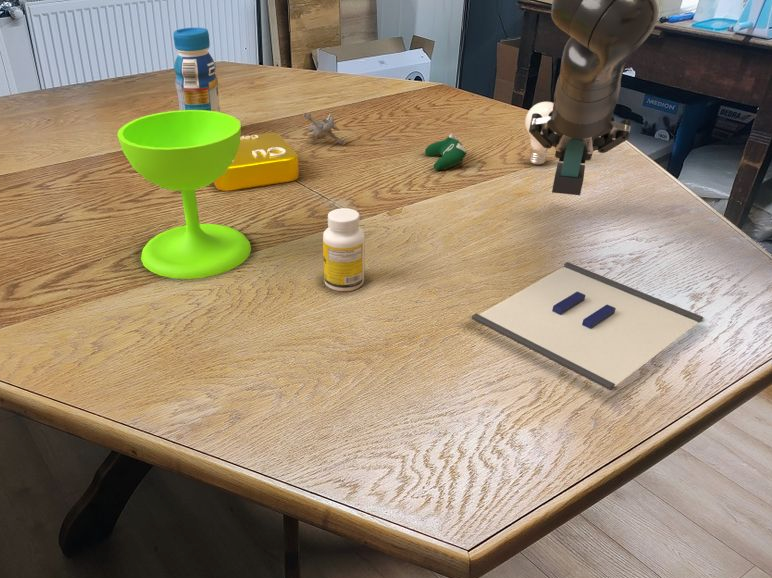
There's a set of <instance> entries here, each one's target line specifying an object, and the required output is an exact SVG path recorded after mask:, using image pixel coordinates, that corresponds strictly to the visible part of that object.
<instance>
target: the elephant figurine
mask: <svg viewBox="0 0 772 578" xmlns="http://www.w3.org/2000/svg"><path fill="white" fill-rule="evenodd" d="M303 117H304V118H305V119H307V121H310V122H311V123H312V124H310V125H309V126H308V129H307V130H308V132H309V133H312V132H313V134H314V138H313V139H312V140H311V141H310V142H311V143H310V144H313V143H314V142H315V141H316V140H317V139H324V138H326V137H327V136H328V137H331V138H332V139H334V140H335V141H336V142H337V143H338V144H340V145H341V146H344V145H345V144H346V143H345V141H344V140H343V139H344V136H342V137H339V136H337V135H335V134H334V133H333V131H332V129H333V130H334V131H338V132H340V128H339V127H338V126H336V125H335V123H334V122H335V120H336V119H337V117H333V116H332V113H329V115H328V116H327V118H325V117H323V116H322V117H321V121H317V120H316V119H314V118H313V117H312V116H311V111H310V112H309V113H307V111H305V112H303Z"/></svg>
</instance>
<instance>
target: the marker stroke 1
mask: <svg viewBox="0 0 772 578" xmlns="http://www.w3.org/2000/svg"><path fill="white" fill-rule="evenodd" d="M585 296H586V295H584V294H582V293H580V292H575V293H574V294H572V295H570V296H569V297H567V298H565V299H564V300H562V301H560V302H559V303H557V304H555V305H554V306H553V310H552V311H553V312H555V313H557V314H559V315H562V314H563V313H565V312H566V311H568V310H570V309H571V308H573V307H574V306H576V305H578V304H579V303H581V302H582V301H584V300H585Z"/></svg>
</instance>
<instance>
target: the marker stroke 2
mask: <svg viewBox="0 0 772 578" xmlns="http://www.w3.org/2000/svg"><path fill="white" fill-rule="evenodd" d="M615 309H616V308H614V307H612V306H610V305H605V306H603V307H602V308H600V309H599V310H597V311H596V312H594V313H593V314H591V315H590V316H588V317H586V318H585V319H583V323H582V325H583V326H585V327H588V328H590V329H592V328H593V327H595V326H596V325H598V324H599V323H601V322H602V321H604V320H605V319H607V318H608V317H610V316H611V315H613V314H614V313H615Z"/></svg>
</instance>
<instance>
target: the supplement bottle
mask: <svg viewBox="0 0 772 578" xmlns="http://www.w3.org/2000/svg"><path fill="white" fill-rule="evenodd" d="M360 219H361V218H360V213H359V212H358V211H357V210H356V209H353V208H347V207H346V208H345V207H344V208H343V207H341V208H336V209H332V210H331V211H329V212H328V214H327V225H328V226H327V228H326V229H325V230H324V231H323V234H322V253H323V254H322V255H323V257H322V258H323V259H322V260H323V282H324V283H325V284H324V285H325V286H326V287H327V288H329V289H331V290H334V291H336V292H351V291H356V290H357V289H359V288H361V287H362V286H363V285H364V283H365V274H366V273H365V272H366V271H365V270H366V269H365V265H366V263H365V262H366V261H365V260H366V259H365V257H366V234H365V231H364V230H363V228H362V227H360V223H361V222H360Z"/></svg>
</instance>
